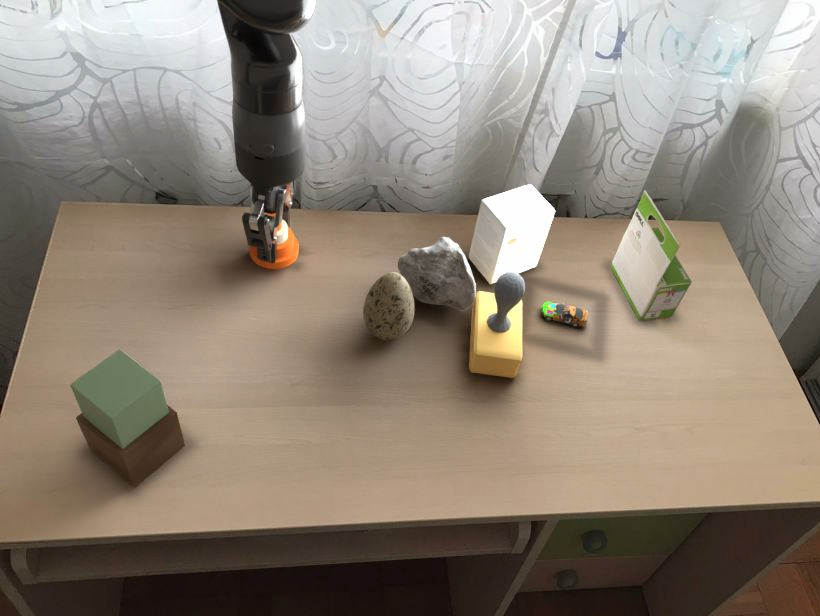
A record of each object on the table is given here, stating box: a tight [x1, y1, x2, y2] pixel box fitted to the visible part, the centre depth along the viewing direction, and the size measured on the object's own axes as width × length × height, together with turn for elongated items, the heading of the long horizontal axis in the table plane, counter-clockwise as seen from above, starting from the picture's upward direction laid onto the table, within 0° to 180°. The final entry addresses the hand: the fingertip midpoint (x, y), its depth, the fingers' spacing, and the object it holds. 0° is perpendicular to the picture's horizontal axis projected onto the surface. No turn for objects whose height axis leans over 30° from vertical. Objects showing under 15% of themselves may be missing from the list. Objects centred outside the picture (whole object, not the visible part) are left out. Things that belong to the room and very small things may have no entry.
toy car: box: [540, 301, 588, 329], centre depth 96 cm, size 3×6×2 cm, turn 80°
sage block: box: [69, 349, 169, 449], centre depth 69 cm, size 5×5×5 cm
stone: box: [397, 236, 477, 311], centre depth 91 cm, size 9×7×10 cm
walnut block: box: [75, 404, 186, 489], centre depth 74 cm, size 6×6×6 cm
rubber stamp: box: [468, 272, 526, 379], centre depth 88 cm, size 10×6×12 cm, turn 177°
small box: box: [468, 183, 556, 285], centre depth 97 cm, size 8×6×10 cm
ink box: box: [609, 189, 693, 321], centre depth 96 cm, size 10×5×14 cm, turn 16°
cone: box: [248, 213, 300, 270], centre depth 92 cm, size 6×6×6 cm
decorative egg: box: [362, 271, 415, 341], centre depth 87 cm, size 6×6×10 cm
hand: (274, 244), depth 93 cm, fingers closed on cone, 5 cm apart
